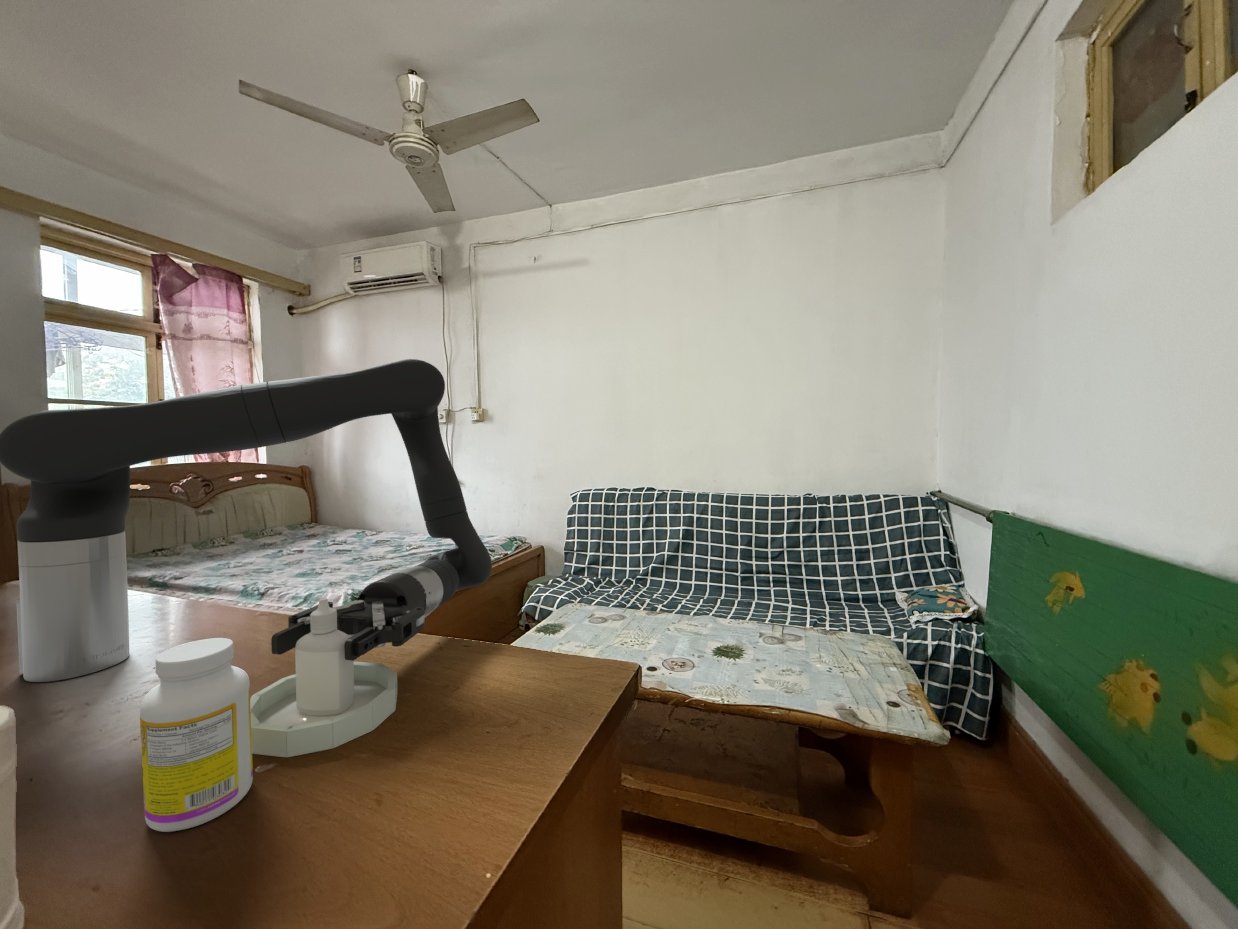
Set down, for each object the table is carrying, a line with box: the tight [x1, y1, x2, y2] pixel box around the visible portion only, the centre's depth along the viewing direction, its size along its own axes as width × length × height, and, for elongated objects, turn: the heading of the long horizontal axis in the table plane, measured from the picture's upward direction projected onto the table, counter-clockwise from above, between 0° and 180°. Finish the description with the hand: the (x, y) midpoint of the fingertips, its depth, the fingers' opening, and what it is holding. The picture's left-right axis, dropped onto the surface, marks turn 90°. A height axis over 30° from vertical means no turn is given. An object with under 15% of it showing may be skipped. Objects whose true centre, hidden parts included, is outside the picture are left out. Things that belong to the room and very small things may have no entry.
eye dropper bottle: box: [294, 597, 355, 716], centre depth 52 cm, size 4×6×12 cm
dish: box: [250, 660, 398, 758], centre depth 52 cm, size 14×14×2 cm
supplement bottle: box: [139, 637, 254, 833], centre depth 39 cm, size 7×7×13 cm
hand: (310, 648), depth 50 cm, fingers open, 8 cm apart
